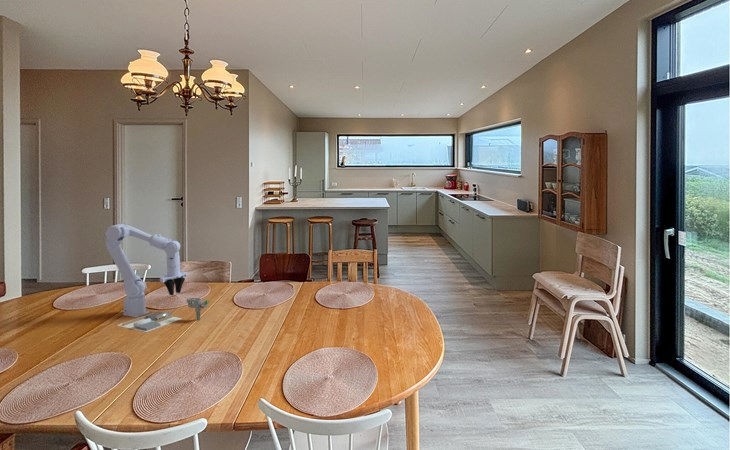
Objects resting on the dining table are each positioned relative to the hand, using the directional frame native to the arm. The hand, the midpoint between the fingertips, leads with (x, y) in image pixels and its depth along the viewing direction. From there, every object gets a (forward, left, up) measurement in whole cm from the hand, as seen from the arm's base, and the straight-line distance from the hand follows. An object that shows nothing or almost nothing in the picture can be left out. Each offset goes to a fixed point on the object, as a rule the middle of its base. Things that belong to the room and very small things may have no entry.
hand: (174, 293), depth 209 cm
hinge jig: (+1, -15, -9) cm, 18 cm away
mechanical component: (+18, -4, -10) cm, 21 cm away
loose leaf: (-1, -9, -9) cm, 13 cm away
